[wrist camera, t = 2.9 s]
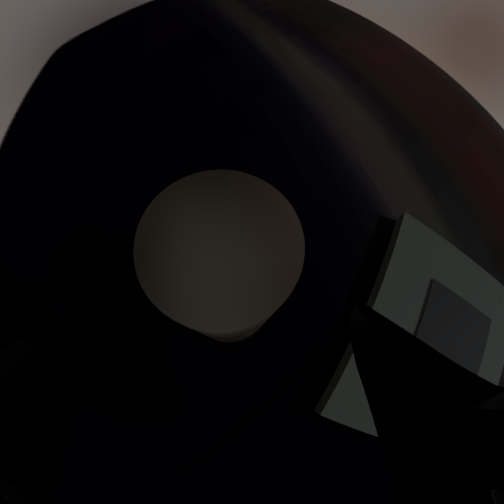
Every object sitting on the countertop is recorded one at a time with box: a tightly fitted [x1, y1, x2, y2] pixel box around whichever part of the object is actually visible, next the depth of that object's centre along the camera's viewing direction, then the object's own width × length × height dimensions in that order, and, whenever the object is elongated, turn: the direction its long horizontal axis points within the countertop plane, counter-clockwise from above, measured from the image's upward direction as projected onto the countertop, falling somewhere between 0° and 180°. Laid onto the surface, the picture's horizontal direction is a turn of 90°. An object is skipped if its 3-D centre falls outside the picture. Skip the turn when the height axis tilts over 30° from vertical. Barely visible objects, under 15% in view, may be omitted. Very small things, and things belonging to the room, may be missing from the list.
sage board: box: [314, 213, 504, 437], centre depth 17 cm, size 16×16×2 cm
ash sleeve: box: [133, 170, 305, 343], centre depth 13 cm, size 5×5×11 cm
